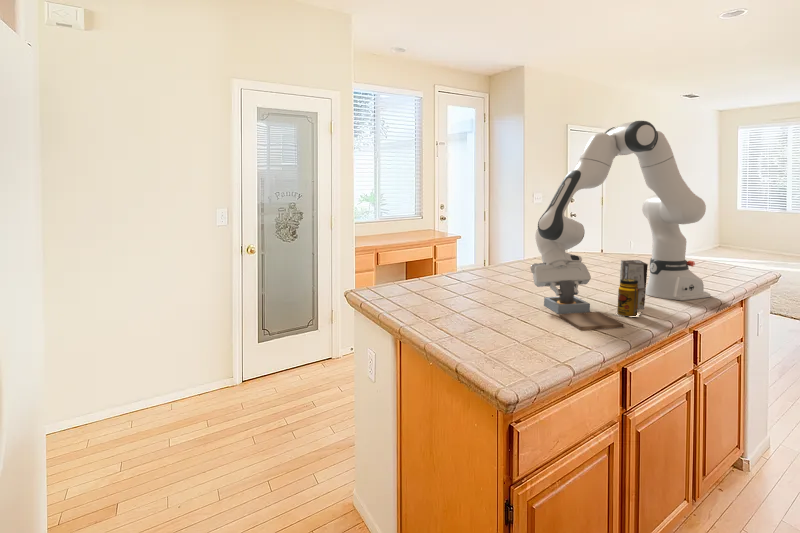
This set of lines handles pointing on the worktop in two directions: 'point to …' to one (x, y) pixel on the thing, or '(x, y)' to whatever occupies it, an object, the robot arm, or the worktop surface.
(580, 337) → the worktop surface
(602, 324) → the walnut board
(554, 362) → the worktop surface
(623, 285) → the condiment
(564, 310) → the socket
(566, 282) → the plug
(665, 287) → the robot arm
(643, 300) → the coffee box
